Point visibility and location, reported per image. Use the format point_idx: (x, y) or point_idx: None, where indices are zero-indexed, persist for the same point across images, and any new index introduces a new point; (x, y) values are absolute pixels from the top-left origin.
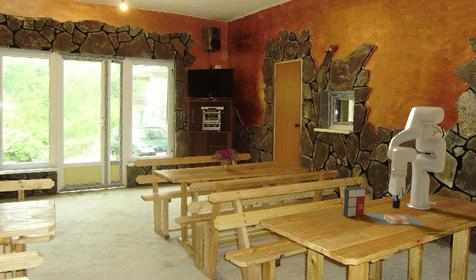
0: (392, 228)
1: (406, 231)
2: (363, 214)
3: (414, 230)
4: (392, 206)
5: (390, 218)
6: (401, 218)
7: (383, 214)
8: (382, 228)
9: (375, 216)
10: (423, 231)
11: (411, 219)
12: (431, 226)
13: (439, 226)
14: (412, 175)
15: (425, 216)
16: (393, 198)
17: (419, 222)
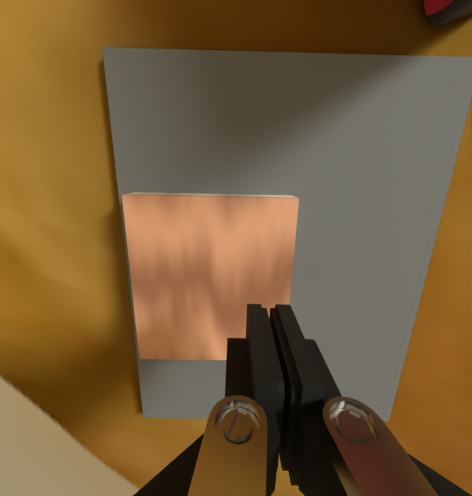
0: (52, 172)
1: (4, 252)
2: (433, 10)
3: (50, 317)
4: (284, 309)
5: (183, 215)
6: (200, 316)
7: (419, 245)
8: (24, 72)
9: (360, 137)
10: (45, 362)
11: None
12: (169, 444)
13: None
14: None
15: None
16: (333, 430)
17: (208, 412)
